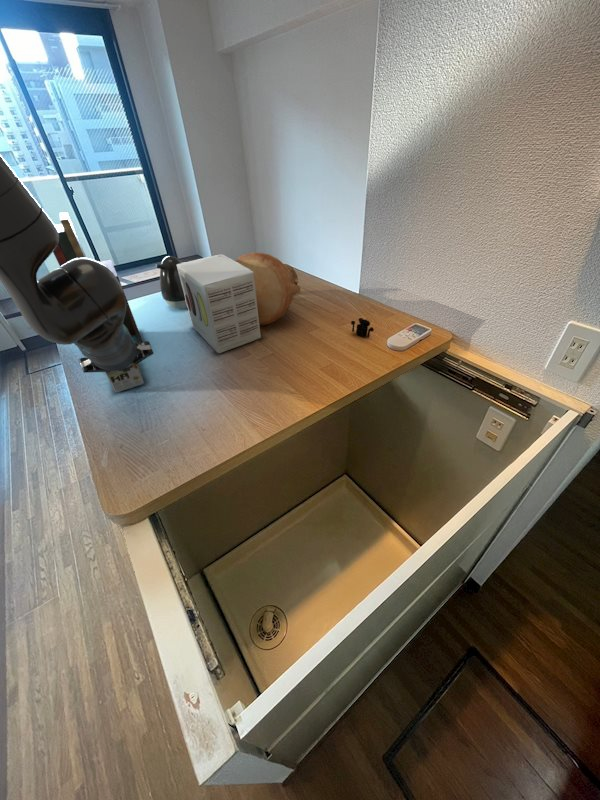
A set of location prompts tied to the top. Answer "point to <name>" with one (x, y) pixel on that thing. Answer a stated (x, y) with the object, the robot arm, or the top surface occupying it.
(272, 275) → the jug
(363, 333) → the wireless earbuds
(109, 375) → the coffee box
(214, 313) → the supplement box
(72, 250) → the shelf
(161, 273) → the pump dispenser
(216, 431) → the top surface
